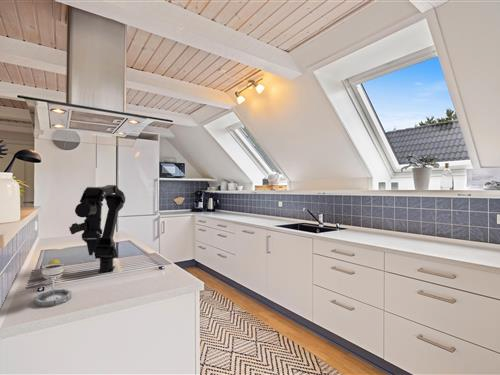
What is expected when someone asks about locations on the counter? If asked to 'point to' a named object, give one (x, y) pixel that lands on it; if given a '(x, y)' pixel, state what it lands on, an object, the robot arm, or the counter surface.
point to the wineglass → (52, 276)
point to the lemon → (54, 261)
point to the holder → (42, 302)
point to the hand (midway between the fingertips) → (91, 253)
